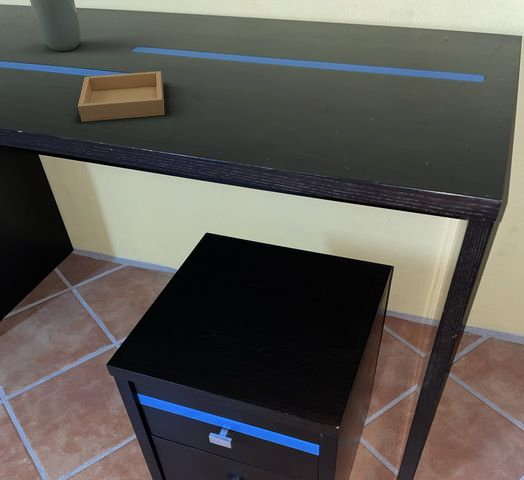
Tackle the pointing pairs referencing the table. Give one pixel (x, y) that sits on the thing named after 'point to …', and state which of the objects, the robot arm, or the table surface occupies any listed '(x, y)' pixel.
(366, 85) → the table surface
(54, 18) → the cup
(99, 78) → the tray
